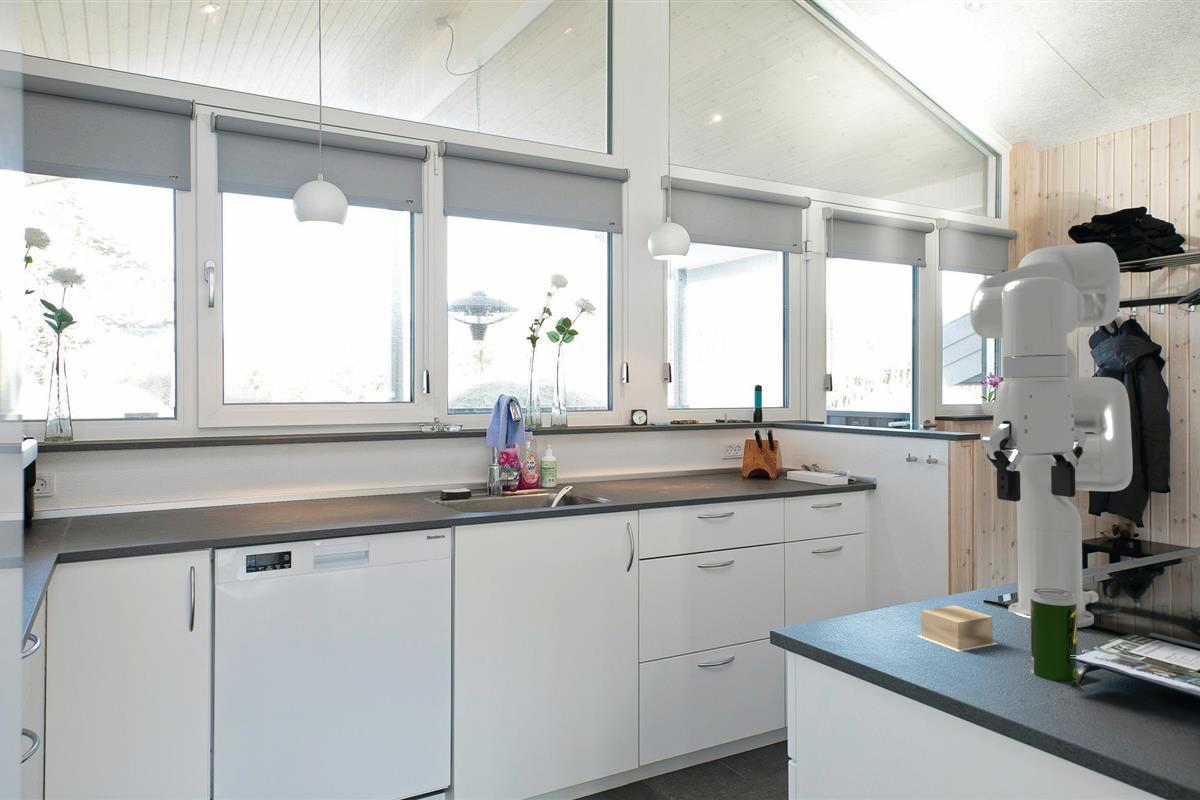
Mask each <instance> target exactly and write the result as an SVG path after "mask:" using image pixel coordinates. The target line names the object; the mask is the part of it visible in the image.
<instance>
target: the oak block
mask: <svg viewBox="0 0 1200 800" xmlns="http://www.w3.org/2000/svg"><path fill="white" fill-rule="evenodd" d="M920 619H921V620H920V621H921V622H920V625H921V627H920V629H921V631H920V632H921V634H920V635H922V637H925V638H927V639H930V640H933V641H936V642H938V643H941V644H944V645H947V646H949V647H952V648H955V649H957V650H960V649H965V648H970V647H976V646H981V645H986V644H991V643H993V642H994V637H993V635H994V634H993V633H994V632H993V627H994V626H993V623H994V622H993V616H992V615H988V614H986V613H981V612H979V611H975V610H972V609H969V608H965V607H962V606H959V605H954V604H953V605H947V606H943V607H942V606H941V607H935V608H929V609H923V610H921V611H920Z"/></svg>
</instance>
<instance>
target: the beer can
mask: <svg viewBox="0 0 1200 800" xmlns="http://www.w3.org/2000/svg"><path fill="white" fill-rule="evenodd" d="M1074 597H1075V595H1074V593H1072V592H1069V591H1066V590H1061V589H1053V588H1036V589H1033V590H1032V595H1031V597H1030V610H1031V618H1030V660H1031V661H1030V663H1031V664H1030V666H1031V667H1030V668H1031V669H1030V670H1031V673H1032V675H1034V676H1037V677H1038V678H1040V679H1044V680H1047V681H1053V682H1058V683H1059V682H1061V683H1064V682H1065V683H1067V682H1075V681H1077V680H1078V679H1079V664H1078V663H1079V660H1078V661H1077V660H1074V659H1071V658H1070V657H1076V656H1070V655H1078V656H1079V653H1078V650H1079V649H1078V644H1079V643H1078V628H1077V602H1076V600H1075V598H1074ZM1077 674H1078V675H1077ZM1073 688H1074V686H1073V687H1068V688H1066V690H1067V689H1073Z"/></svg>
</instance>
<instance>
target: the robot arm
mask: <svg viewBox="0 0 1200 800" xmlns="http://www.w3.org/2000/svg"><path fill="white" fill-rule="evenodd" d="M1120 271H1121V270H1120V263H1119V260H1118V257H1117V254H1116V252H1115V251H1114V249H1113V248H1112V247H1111V246H1109V244H1107V243H1104V242H1099V241H1098V242H1096V241H1095V242H1086V243H1078V244H1077V243H1076V244H1066V245H1057V246H1055V245H1054V246H1048V247H1042V248H1041V247H1040V248H1038V249H1035V250H1033V251H1030V252H1029V253H1027V254H1026V255H1025V256H1024V257H1023V258H1022V259H1021V261H1020V262H1019V263H1018V266H1017V267H1016V268H1013V269H1010V270H1008V271H1005V272H1002V273H998V274H996V275H995V274H994V275H992V276H990V277H988V278H985V279H984V280H982V281H981V282H980V283H979V284H978V286H977V288H976V289H975V292H974V293H973V296H972V299H971V303H970V310H969V311H970V312H969V316H970V318H969V319H970V323H971V327H972V329H973V331H974V332H975V333H976V334H977V336H980V337H981V338H984V339H1002V379H1003V380H1002V381H999V382H998V385H997V390H996V394H995V401H994V406H993V408H994V409H993V420H992V431H990V432H989V433H987V434H986V435H984V436H983V437H982V439H981V441H982V445H983V447H984V449H985V452H986V458H987V459H988V460H989V461H990V462H991V464H992V469H993V470H996V497H997V499H998V500H1002V501H1009V502H1015V503H1016V520H1017V521H1016V525H1017V526H1016V528H1017V529H1016V531H1017V533H1016V536H1017V537H1016V538H1017V539H1016V540H1017V587H1018V588H1017V593H1018V595H1017V599H1018V601H1016V602H1014V603H1012V604H1009V606H1008V611H1007V612H1008V613H1011V614H1014V615H1015V614H1016V615H1017V616H1021V617H1024V618H1027V619H1031V610H1030V597H1031V595H1032V590H1033V589H1036V588H1053V589H1061V590H1066V591H1069V592H1072V593H1074V595H1075V597H1074V598H1075V600H1076V602H1077V629H1079V628H1086V627H1090V626H1092V625H1093V624H1094V623H1095V616H1094V614H1093V613H1092V612H1090V611H1089V610H1087V609H1086V606H1087V605H1088V604H1090V603H1091V604H1092V603H1096V602H1098V601H1099V600H1100V599H1099V597H1100V596H1099V594H1098V593H1097V592H1096V591H1094V590H1089V591H1085V590H1083V540H1082V539H1083V538H1082V533H1083V532H1082V531H1083V530H1082V527H1083V525H1082V518H1081V514H1080V512H1079V510H1078V509H1077V507H1076V506H1075V505H1074V504H1073V502H1072V501H1070V499H1068V498H1074V497H1076V494H1077V493H1076V491H1086V492H1087V491H1091V492H1117V491H1122V490H1124V489H1126V488H1127V487H1128V486H1129V485H1130V483H1131V481H1132V477H1133V471H1134V470H1133V467H1134V466H1133V464H1134V463H1133V444H1132V425H1131V424H1132V423H1131V422H1132V421H1131V408H1130V399H1129V394H1128V391H1127V388H1126V387H1125V385H1124V383H1123V382H1122V381H1120V380H1119V379H1116V378H1114V377H1108V376H1107V377H1105V376H1085V377H1082V376H1077V374H1078V373H1077V359H1078V358H1077V356H1076V354H1075V353H1074V351H1073V350H1072V349H1071V348H1070V346H1069V345H1068V342H1067V341H1068V336H1067V335H1069V334H1071V333H1072V332H1074V331H1075V330H1076V329H1078V328H1092V327H1102V326H1105V325H1109V324H1112V323H1113V321H1114V320H1115V319H1116V318H1117V316H1118V313H1119V310H1120V290H1121V289H1120V288H1121V286H1120V285H1121V283H1120V282H1121V281H1120V280H1121V272H1120Z"/></svg>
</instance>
